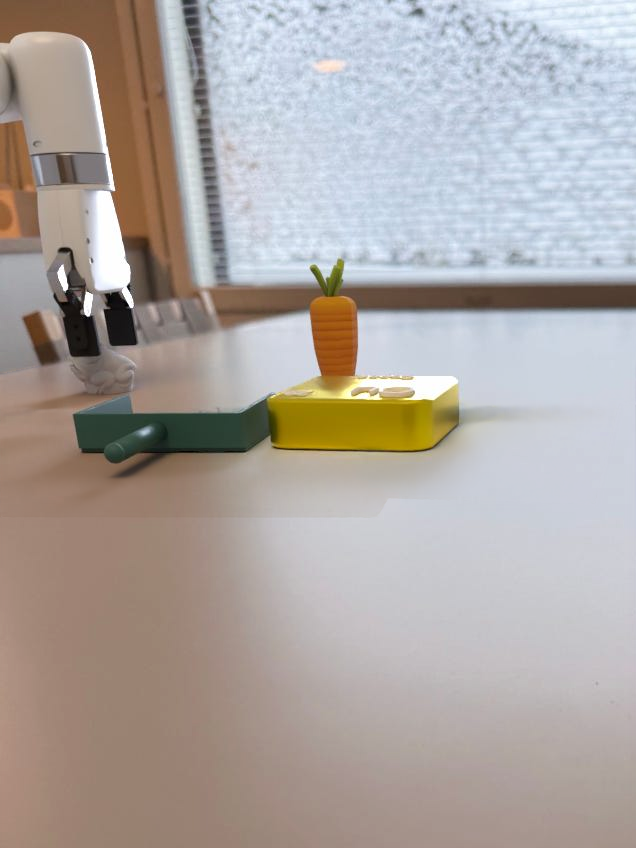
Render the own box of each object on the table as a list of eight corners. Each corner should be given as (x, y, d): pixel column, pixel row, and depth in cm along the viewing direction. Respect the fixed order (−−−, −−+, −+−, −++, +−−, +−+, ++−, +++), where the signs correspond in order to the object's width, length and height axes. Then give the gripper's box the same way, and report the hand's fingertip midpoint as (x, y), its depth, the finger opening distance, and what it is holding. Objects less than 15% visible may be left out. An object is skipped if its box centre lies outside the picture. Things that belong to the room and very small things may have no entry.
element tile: (463, 420, 95) (462, 371, 93) (429, 452, 81) (427, 395, 79) (319, 418, 97) (315, 370, 96) (263, 449, 84) (257, 393, 82)
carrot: (318, 411, 102) (306, 259, 96) (316, 403, 106) (304, 258, 100) (365, 408, 103) (355, 258, 97) (361, 401, 107) (351, 257, 101)
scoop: (131, 428, 94) (125, 393, 93) (278, 427, 93) (275, 392, 92) (23, 479, 75) (14, 436, 74) (207, 479, 74) (201, 435, 72)
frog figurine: (75, 406, 108) (63, 341, 105) (140, 401, 110) (130, 338, 107) (78, 414, 102) (66, 347, 100) (146, 409, 105) (136, 343, 102)
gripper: (76, 181, 105) (106, 342, 112) (-7, 174, 90) (34, 362, 96) (142, 178, 105) (168, 340, 112) (70, 170, 89) (105, 360, 96)
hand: (106, 350), depth 104 cm, fingers open, 9 cm apart
